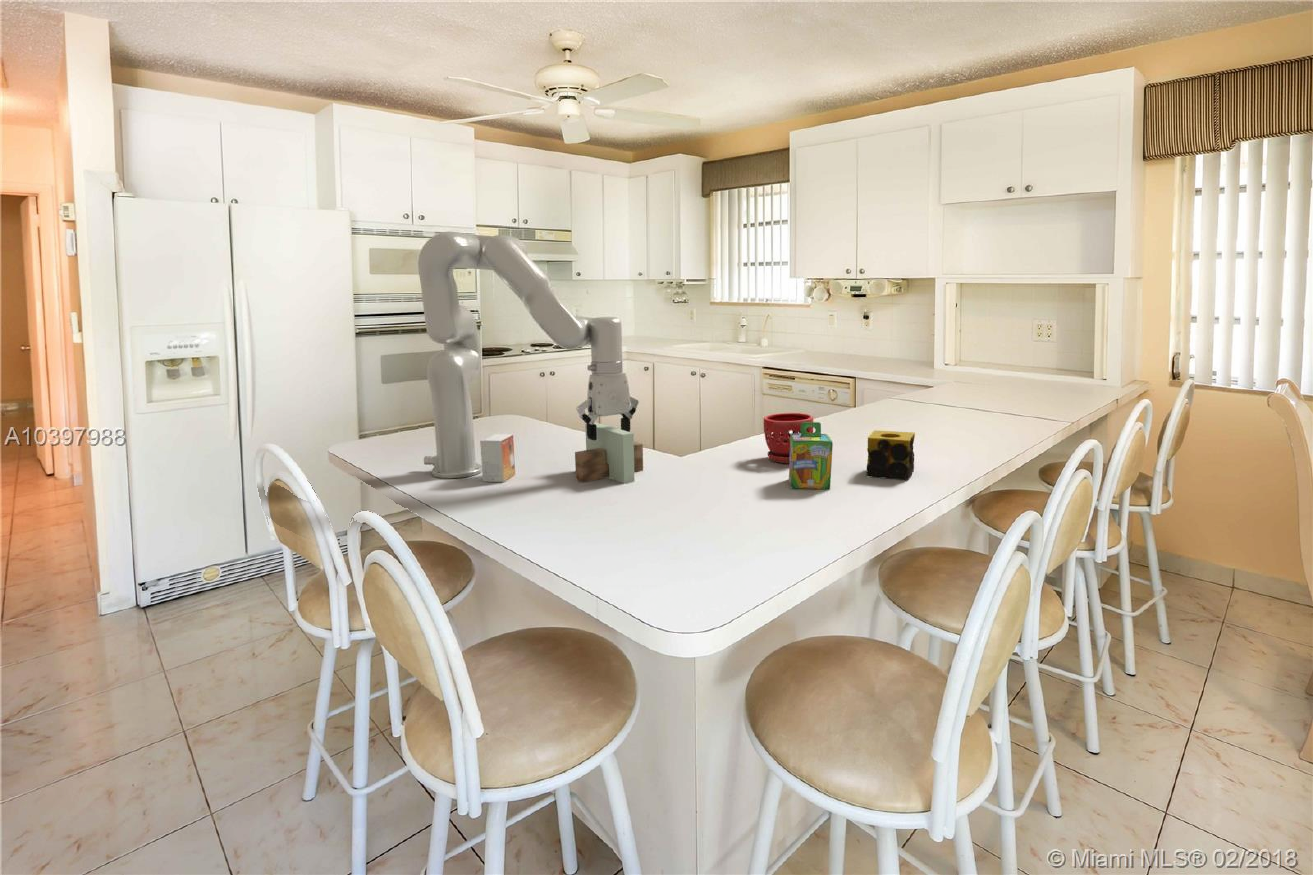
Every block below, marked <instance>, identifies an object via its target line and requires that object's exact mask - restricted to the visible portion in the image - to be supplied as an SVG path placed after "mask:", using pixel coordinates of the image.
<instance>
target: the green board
mask: <svg viewBox="0 0 1313 875" xmlns="http://www.w3.org/2000/svg"><path fill="white" fill-rule="evenodd" d="M594 424H596V430H597V440H590V439H588V436H587V423H585V424H584V425H585V447H586V448H585V450H590V449H597V448H600V449H603V450H605V451H606V463H607V464H609V477H608V478H609V479H612V480H614V481H616V482H619V483H621V484H629V483H634V482H635V480H636V479H635V472H634V442H635V440H634V439H635V438H634V432H631V431H630V432H627V431H624V430H621V428H617V427H614V426H609V425H606V424H603V423H600V422H596V421H595V422H594Z"/></svg>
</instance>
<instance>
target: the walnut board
mask: <svg viewBox="0 0 1313 875" xmlns="http://www.w3.org/2000/svg"><path fill="white" fill-rule="evenodd" d="M643 444H644V443H641V442H638V441H636V442H635V441H634V473H637V472H643V471H644V448H643V447H644V445H643ZM574 462H575V480H576V481H577V482H580V483H586V482H590V481H596V480H602V479H606V478H609V464H607V463H606V451H605V450H603V449H600V448H597V449H590V450H586V449H584V450H579V451H575V452H574Z"/></svg>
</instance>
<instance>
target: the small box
mask: <svg viewBox="0 0 1313 875" xmlns="http://www.w3.org/2000/svg"><path fill="white" fill-rule="evenodd" d="M479 443H480V456H481V458H480V459H481V461H480V462H481V466H482V471H481V473H482V482H485V483H487V482H488V483H504V482H506V481H507V480H508V479H510V478H512V477H514V476H516V466H515V463H516V462H515V444H514V443H515V442H514V435H513V434H505V433H504V434H503V433H501V434H500V433H493V434H491V435H489V436H487V437H486V438H484V439H483V438H482V439H481V440H479Z"/></svg>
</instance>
